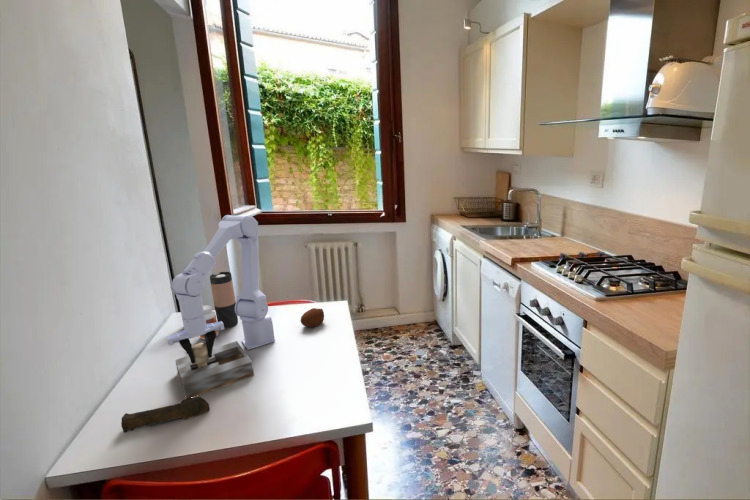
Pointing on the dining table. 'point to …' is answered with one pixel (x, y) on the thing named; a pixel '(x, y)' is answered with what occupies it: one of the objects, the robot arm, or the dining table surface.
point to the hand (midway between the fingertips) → (201, 359)
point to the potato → (312, 317)
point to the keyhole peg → (200, 354)
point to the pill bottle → (209, 317)
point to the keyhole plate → (214, 370)
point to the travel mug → (224, 298)
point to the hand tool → (165, 413)
